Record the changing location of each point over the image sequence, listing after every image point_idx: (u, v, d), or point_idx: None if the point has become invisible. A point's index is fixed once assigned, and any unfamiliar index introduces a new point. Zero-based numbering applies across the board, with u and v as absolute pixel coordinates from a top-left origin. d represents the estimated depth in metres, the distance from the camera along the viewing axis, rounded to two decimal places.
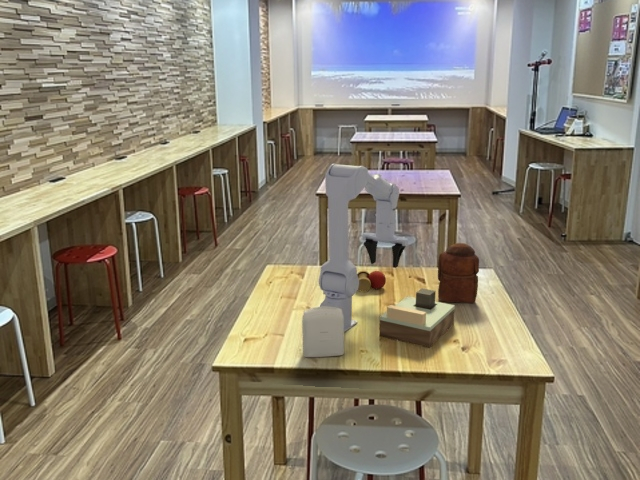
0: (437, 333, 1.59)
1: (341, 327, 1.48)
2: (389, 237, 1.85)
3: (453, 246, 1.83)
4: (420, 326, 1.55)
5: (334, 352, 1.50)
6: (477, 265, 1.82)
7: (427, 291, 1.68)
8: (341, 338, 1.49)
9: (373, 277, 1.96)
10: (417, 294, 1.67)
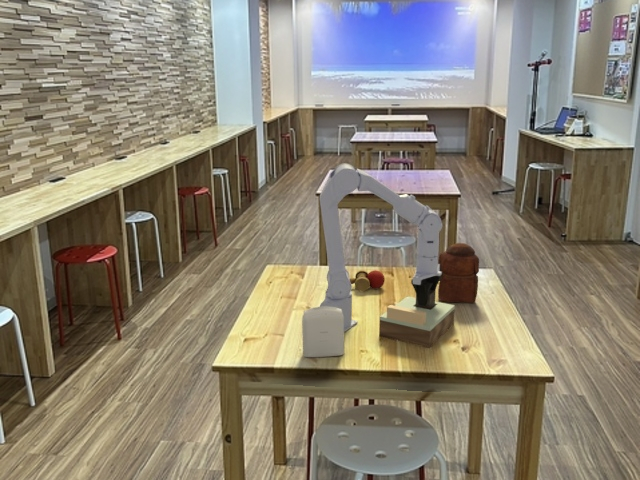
0: (437, 333, 1.59)
1: (341, 327, 1.48)
2: (417, 270, 1.65)
3: (453, 246, 1.83)
4: (420, 326, 1.55)
5: (334, 352, 1.50)
6: (477, 265, 1.82)
7: None
8: (341, 338, 1.49)
9: (372, 277, 1.96)
10: None
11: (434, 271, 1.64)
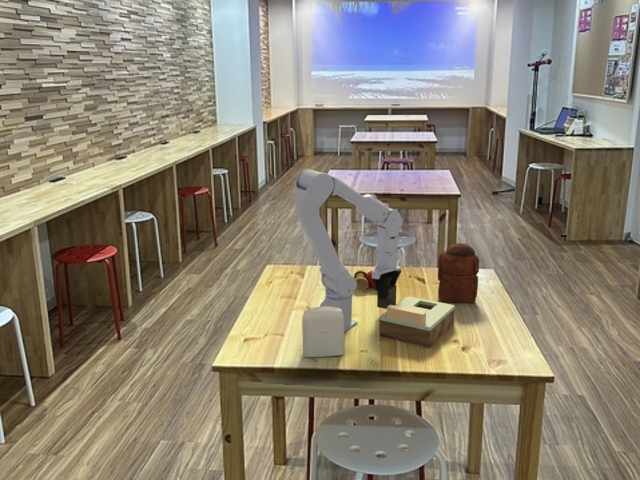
0: (437, 333, 1.59)
1: (341, 327, 1.48)
2: (377, 265, 1.71)
3: (453, 246, 1.83)
4: (420, 326, 1.55)
5: (334, 352, 1.50)
6: (477, 265, 1.82)
7: None
8: (341, 338, 1.49)
9: (370, 277, 1.96)
10: None
11: (393, 266, 1.70)
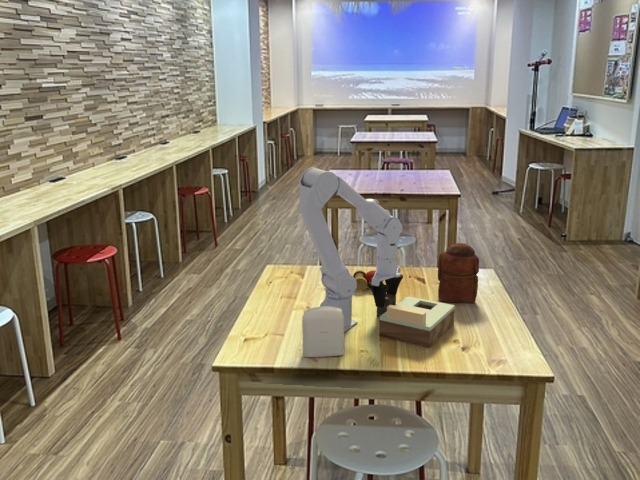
0: (437, 333, 1.59)
1: (341, 327, 1.48)
2: (377, 272, 1.72)
3: (453, 246, 1.83)
4: (420, 326, 1.55)
5: (334, 352, 1.50)
6: (477, 265, 1.82)
7: (388, 296, 1.75)
8: (341, 338, 1.49)
9: (369, 277, 1.96)
10: None
11: (393, 273, 1.71)
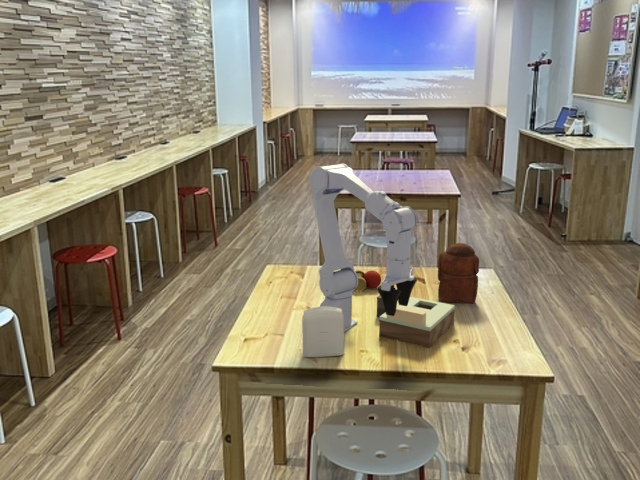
0: (437, 333, 1.59)
1: (341, 327, 1.48)
2: (387, 275, 1.49)
3: (453, 246, 1.83)
4: (420, 326, 1.55)
5: (334, 352, 1.50)
6: (477, 265, 1.82)
7: None
8: (341, 338, 1.49)
9: (368, 277, 1.96)
10: (378, 299, 1.74)
11: (406, 275, 1.47)
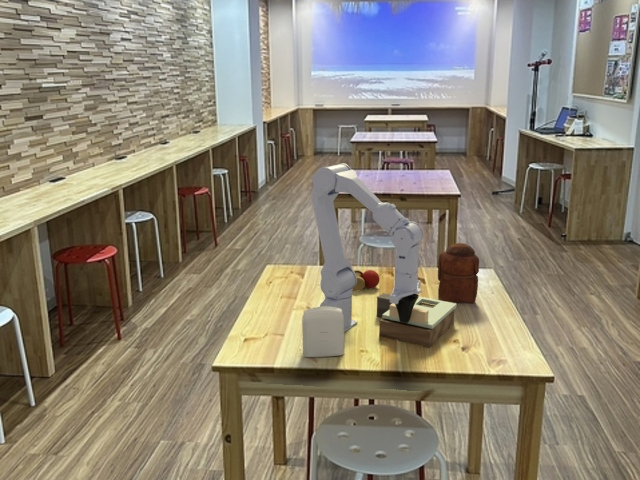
0: (437, 333, 1.59)
1: (341, 327, 1.48)
2: (395, 288, 1.54)
3: (453, 246, 1.83)
4: (422, 324, 1.56)
5: (334, 352, 1.50)
6: (477, 265, 1.82)
7: (388, 296, 1.75)
8: (341, 338, 1.49)
9: (367, 276, 1.97)
10: (378, 298, 1.74)
11: (413, 289, 1.53)
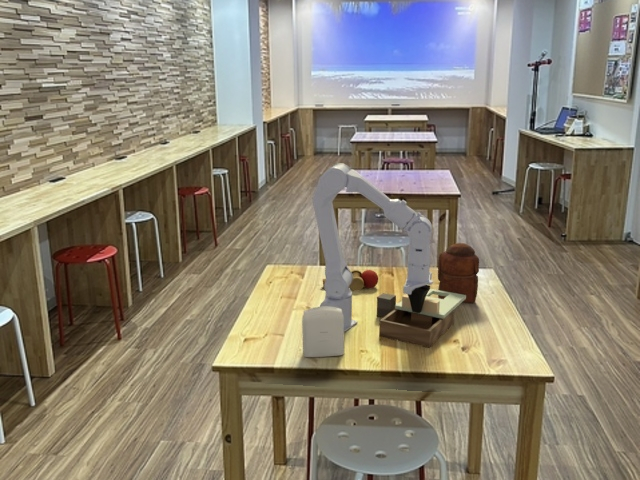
0: (437, 333, 1.59)
1: (341, 327, 1.48)
2: (408, 279, 1.60)
3: (453, 246, 1.83)
4: (434, 314, 1.63)
5: (334, 352, 1.50)
6: (477, 265, 1.82)
7: (388, 296, 1.75)
8: (341, 338, 1.49)
9: (366, 276, 1.97)
10: (378, 299, 1.74)
11: (425, 280, 1.59)
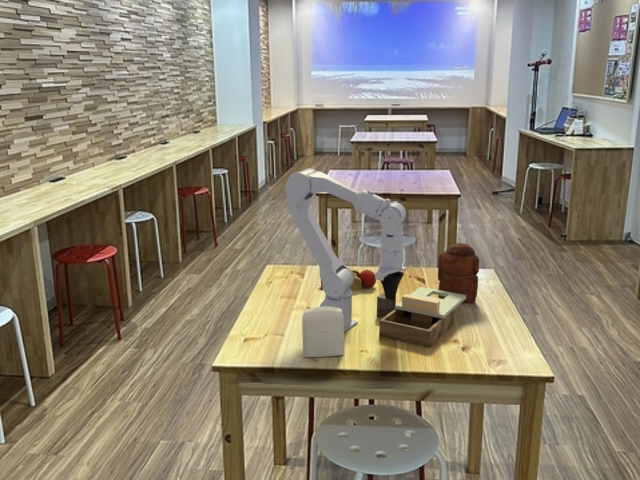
0: (437, 333, 1.59)
1: (341, 327, 1.48)
2: (381, 265, 1.59)
3: (453, 246, 1.83)
4: (434, 314, 1.63)
5: (334, 352, 1.50)
6: (477, 265, 1.82)
7: None
8: (341, 338, 1.49)
9: (364, 276, 1.97)
10: (378, 299, 1.74)
11: (398, 266, 1.58)
